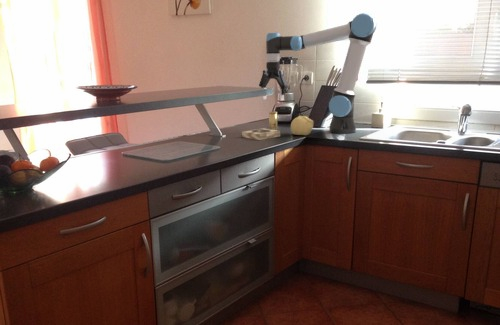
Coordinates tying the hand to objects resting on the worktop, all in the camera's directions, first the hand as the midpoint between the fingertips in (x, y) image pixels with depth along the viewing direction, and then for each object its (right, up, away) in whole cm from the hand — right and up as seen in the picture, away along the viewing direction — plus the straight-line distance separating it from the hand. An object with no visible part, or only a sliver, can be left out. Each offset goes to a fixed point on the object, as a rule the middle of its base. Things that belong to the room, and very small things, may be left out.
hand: (273, 99), depth 252 cm
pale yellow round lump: (+16, -20, -5) cm, 26 cm away
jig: (-7, -21, -8) cm, 24 cm away
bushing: (0, -18, +4) cm, 19 cm away
